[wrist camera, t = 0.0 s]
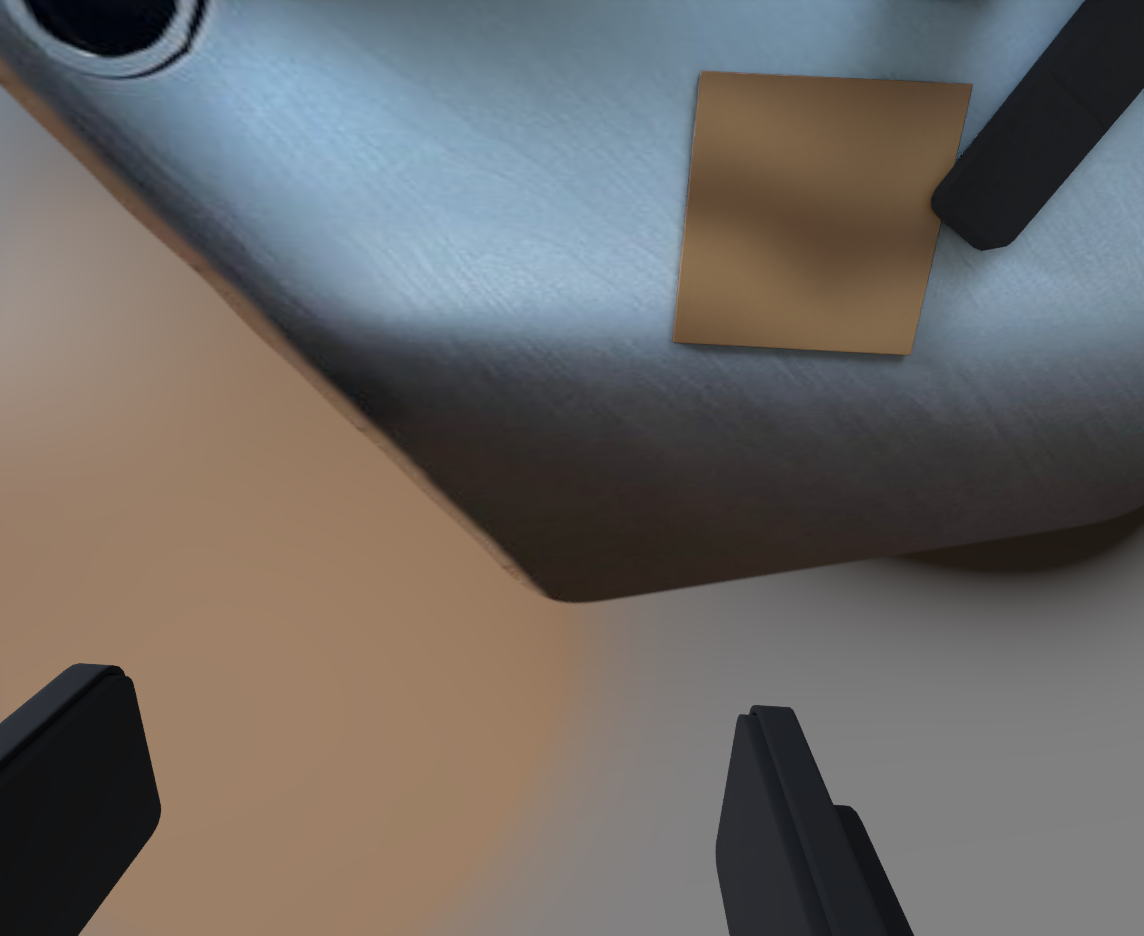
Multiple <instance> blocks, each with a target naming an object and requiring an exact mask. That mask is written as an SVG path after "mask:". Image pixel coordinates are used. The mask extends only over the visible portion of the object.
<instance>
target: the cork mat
mask: <svg viewBox="0 0 1144 936" xmlns="http://www.w3.org/2000/svg"><path fill="white" fill-rule="evenodd" d="M972 87H973V84H964V83H943V82H923V81H903V80H882V79H862V78H841V77H821V76H800V75H780V74H759V73H739V72H718V71H701V72H700V74H699V82H698V92H697V102H696V112H695V122H694V131H693V141H692V151H691V161H690V171H689V180H688V190H687V200H686V210H685V220H684V229H683V239H682V249H681V259H680V269H679V278H678V288H677V298H676V308H675V318H674V327H673V337H672V341H673V342H674V343H690V344H708V345H727V346H745V347H763V348H782V349H800V350H818V351H837V352H855V353H873V354H892V355H911V352H912V347H913V343H914V339H915V334H916V330H917V326H918V321H919V317H920V313H921V308H922V304H923V300H924V295H925V291H926V287H927V282H928V278H929V274H930V269H931V265H932V261H933V256H934V252H935V248H936V243H937V239H938V235H939V230H940V226H941V222H942V220H941V219H940V218H939V217H938V216H937V215H936V214H935V213H934V211H933V210H932V208H931V197H932V195H933V193H934V191H935V189H936V188H937V187H938V185H939V184H940V183H941V181H942V180H943V179H944V178H945V176H946V175H947V174H948V173H949V171H950V170H951V169H952V168H953V166H954V165H955V161H956V156H957V152H958V148H959V143H960V139H961V135H962V130H963V126H964V122H965V117H966V113H967V109H968V104H969V100H970V96H971V91H972Z"/></svg>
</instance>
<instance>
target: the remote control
mask: <svg viewBox="0 0 1144 936" xmlns="http://www.w3.org/2000/svg"><path fill="white" fill-rule="evenodd" d="M1143 88H1144V0H1085V1H1084V2H1083V4H1082V5H1081V6H1080V8H1079V9H1078V10H1077V11H1076V13H1075V14H1074V15H1073V16H1072V18H1071V19H1070V20H1069V21H1068V23H1067V24H1066V25H1065V26H1064V28H1063V29H1062V30H1061V31H1060V33H1059V34H1058V35H1057V37H1056V38H1055V39H1054V40H1053V42H1052V43H1051V44H1050V45H1049V47H1048V48H1047V49H1046V50H1045V52H1044V53H1043V54H1042V55H1041V57H1040V58H1039V59H1038V60H1037V62H1036V63H1035V64H1034V66H1033V67H1032V68H1031V69H1030V71H1029V72H1028V73H1027V74H1026V76H1025V77H1024V78H1023V79H1022V81H1021V82H1020V83H1019V84H1018V86H1017V87H1016V88H1015V89H1014V91H1013V92H1012V93H1011V94H1010V96H1009V97H1008V98H1007V100H1006V101H1005V102H1004V103H1003V105H1002V106H1001V107H1000V108H999V110H998V111H997V112H996V113H995V115H994V116H993V117H992V118H991V120H990V121H989V122H988V123H987V125H986V126H985V127H984V129H983V130H982V131H981V132H980V134H979V135H978V136H977V137H976V139H975V140H974V141H973V142H972V144H971V145H970V146H969V147H968V149H967V150H966V151H965V152H964V154H963V155H962V156H961V158H960V159H959V160H958V161H957V163H956V164H955V165H954V166H953V168H952V169H951V170H950V171H949V173H948V174H947V175H946V176H945V178H944V179H943V180H942V181H941V183H940V184H939V185H938V187H937V188H936V189H935V191H934V193H933V195H932V197H931V208H932V210H933V211H934V213H935V214H936V215H937V216H938V217H939V218H940V219H941V220H942V221H943V222H944V223H946V224H947V225H948V226H949V227H950V228H951V229H953V230H954V231H955V232H956V233H957V234H959V235H960V236H961V237H962V238H963V239H964V240H966V241H967V242H968V243H969V244H970V245H971V246H973V247H974V248H976V249H979V250H981V251H983V250H989V249H994V248H1000V247H1005V246H1007V245H1009V244H1010V243H1011V242H1012V241H1014V240H1015V239H1016V237H1017V236H1018V235H1019V234H1020V233H1021V232H1022V230H1023V229H1024V228H1025V227H1026V226H1027V225H1028V223H1029V222H1030V221H1031V220H1032V219H1033V218H1034V216H1035V215H1036V214H1037V213H1038V212H1039V210H1040V209H1041V208H1042V207H1043V206H1044V205H1045V203H1046V202H1047V201H1048V200H1049V199H1050V198H1051V196H1052V195H1053V194H1054V193H1055V192H1056V190H1057V189H1058V188H1059V187H1060V186H1061V185H1062V183H1063V182H1064V181H1065V180H1066V179H1067V178H1068V176H1069V175H1070V174H1071V173H1072V172H1073V171H1074V169H1075V168H1076V167H1077V166H1078V165H1079V163H1080V162H1081V161H1082V160H1083V159H1084V158H1085V156H1086V155H1087V154H1088V153H1089V152H1090V151H1091V149H1092V148H1093V147H1094V146H1095V145H1096V144H1097V142H1098V141H1099V140H1100V139H1101V138H1102V136H1103V135H1104V134H1105V133H1106V132H1107V131H1108V129H1109V128H1110V127H1111V126H1112V125H1113V124H1114V122H1115V121H1116V120H1117V119H1118V118H1119V116H1120V115H1121V114H1122V113H1123V112H1124V111H1125V109H1126V108H1127V107H1128V106H1129V105H1130V104H1131V102H1132V101H1133V100H1134V99H1135V98H1136V97H1137V95H1138V94H1139V93H1140V92H1141V91H1142V89H1143Z"/></svg>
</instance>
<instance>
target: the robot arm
mask: <svg viewBox="0 0 1144 936" xmlns="http://www.w3.org/2000/svg"><path fill="white" fill-rule="evenodd" d="M160 814H161V804H160V799H159V795H158V791H157V787H156V782H155V777H154V773H153V768H152V764H151V760H150V755H149V751H148V746H147V742H146V738H145V733H144V728H143V724H142V720H141V715H140V710H139V706H138V702H137V697H136V693H135V688H134V684H133V681H132V679H131V678H129V677H127V676H125V674H124V671H123V670H122V669H121V668H120V667H118V666H114V665H99V664H82V663H79V664H75V665H72V666H70V667H69V668H68V669H66V670H65V671H63V672H62V673H61V674H60V675H58V676H57V677H56V678H55V679H54V680H52V681H51V682H50V683H49V684H48V685H46V686H45V687H44V688H43V689H41V690H40V691H39V692H38V693H37V694H35V695H34V696H33V697H32V698H30V699H29V700H28V701H27V702H26V703H24V704H23V705H22V706H21V707H20V708H18V709H17V710H16V711H15V712H14V713H12V714H11V715H10V716H9V717H7V718H6V719H5V720H4V721H2V722H1V723H0V936H78V935H79V933H80V932H81V931H82V929H83V928H84V927H85V925H86V924H87V923H88V921H89V920H90V919H91V917H92V916H93V915H94V913H95V912H96V910H97V909H98V908H99V906H100V905H101V904H102V902H103V901H104V899H105V898H106V897H107V896H108V894H109V893H110V891H111V890H112V889H113V887H114V886H115V885H116V883H117V882H118V881H119V879H120V878H121V877H122V875H123V874H124V872H125V871H126V870H127V868H128V867H129V866H130V864H131V863H132V862H133V860H134V859H135V857H136V856H137V855H138V853H139V852H140V851H141V849H142V848H143V847H144V845H145V844H146V843H147V841H148V840H149V838H150V837H151V836H152V834H153V833H154V831H155V829H156V827H157V825H158V822H159V819H160ZM716 866H717V873H718V877H719V883H720V888H721V893H722V898H723V903H724V908H725V913H726V919H727V924H728V929H729V934H730V936H914V935H913V932H912V930H911V928H910V926H909V924H908V921H907V919H906V917H905V915H904V913H903V910H902V908H901V906H900V904H899V902H898V899H897V897H896V895H895V893H894V891H893V889H892V886H891V884H890V882H889V880H888V878H887V875H886V873H885V871H884V869H883V867H882V865H881V862H880V860H879V858H878V856H877V854H876V851H875V849H874V847H873V845H872V843H871V841H870V838H869V836H868V834H867V832H866V830H865V827H864V825H863V823H862V821H861V819H860V818H859V816H858V814H857V812H856V811H854V810H853V808H851V807H850V806H844V805H833V803H832V801H831V798H830V796H829V793H828V791H827V789H826V786H825V784H824V781H823V779H822V777H821V774H820V772H819V770H818V767H817V765H816V763H815V760H814V758H813V755H812V753H811V751H810V748H809V746H808V743H807V741H806V739H805V737H804V734H803V731H802V729H801V727H800V725H799V722H798V720H797V717H796V715H795V713H794V711H793V709H791V708H790V707H777V706H760V705H754V706H752V707H751V709H750V713H749V715H743V714H740V715H739V716H738V719H737V723H736V729H735V736H734V741H733V747H732V753H731V759H730V764H729V770H728V776H727V782H726V788H725V794H724V799H723V805H722V811H721V817H720V823H719V829H718V835H717V840H716Z"/></svg>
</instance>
